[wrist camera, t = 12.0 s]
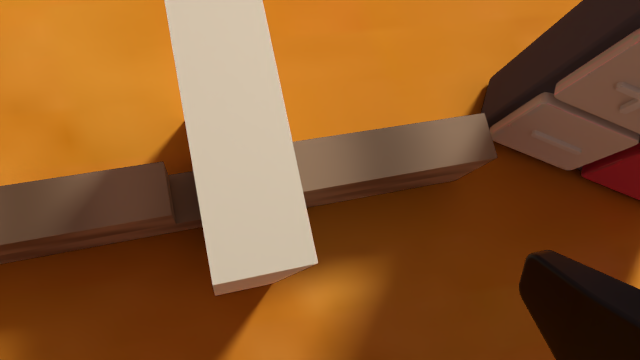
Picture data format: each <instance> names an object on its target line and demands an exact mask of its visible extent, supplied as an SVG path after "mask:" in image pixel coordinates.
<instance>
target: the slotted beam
mask: <svg viewBox="0 0 640 360" xmlns="http://www.w3.org/2000/svg"><path fill="white" fill-rule="evenodd" d="M293 147H294V151H295V156H296V161H297V166H298V170H299V175H300V180H301V184H302V189H303V194H304V199H305V203H306V208H308V207H314V206H319V205H324V204H330V203H335V202H341V201H346V200H352V199H357V198H362V197H368V196H373V195H379V194H384V193H390V192H395V191H401V190H406V189H411V188H417V187H422V186H428V185H433V184H439V183H444V182H449V181H455V180H457V179H459V178H461V177H462V176H464V175H466V174H468V173H470V172H472V171H474V170H475V169H477V168H479V167H481V166H483V165H485V164H487V163H489V162H490V161H492V160H494V159H496V158H498V157H497V154H496V150H495V147H494V143H493V140H492V137H491V133H490V130H489V127H488V123H487V120H486V117H485V113H481V114H474V115H468V116H461V117H454V118H448V119H441V120H435V121H428V122H421V123H415V124H408V125H402V126H395V127H388V128H382V129H375V130H369V131H362V132H355V133H349V134H342V135H336V136H329V137H322V138H316V139H309V140H302V141H296V142H293ZM199 227H203V225H202V220H201V214H200V208H199V202H198V196H197V190H196V184H195V178H194V172H193V171H192V172H186V173H179V174H173V175H168V173H167V170H166V168H165V165H164V162H157V163H151V164H144V165H137V166H131V167H124V168H117V169H111V170H104V171H98V172H91V173H84V174H78V175H71V176H65V177H58V178H51V179H45V180H38V181H32V182H25V183H18V184H12V185H5V186H0V264H3V263H9V262H14V261H20V260H25V259H31V258H36V257H42V256H47V255H52V254H58V253H63V252H69V251H74V250H80V249H85V248H91V247H96V246H101V245H107V244H112V243H118V242H123V241H129V240H134V239H139V238H145V237H150V236H156V235H161V234H167V233H172V232H178V231H183V230H188V229H194V228H199Z"/></svg>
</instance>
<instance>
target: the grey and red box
mask: <svg viewBox="0 0 640 360" xmlns="http://www.w3.org/2000/svg"><path fill="white" fill-rule="evenodd" d="M481 113H485V117H486V120H487V123H488V127H489V130H490V133H491V137H492V140H493V141H495V142H497V143H500V144H502V145H505V146H507V147H510V148H512V149H514V150H517V151H519V152H522V153H524V154H527V155H529V156H532V157H534V158H537V159H539V160H542V161H544V162H547V163H549V164H551V165H554V166H556V167H559V168H561V169H564V170H573V169H578V170H581V171H582V172H581V176H582V177H584V178H586V179H588V180H591V181H593V182H596V183H598V184H601V185H603V186H606V187H608V188H610V189H613V190H615V191H618V192H620V193H623V194H625V195H628V196H630V197H633V198H635V199H638V200H640V0H583V1H581V2H580V3H579V4H578V5H577V6H576V7H574V8H573V9H572V10H571V11H570V12H568V13H567V14H566V15H565V16H564V17H562V18H561V19H560V20H559V21H558V22H557V23H555V24H554V25H553V26H552V27H551V28H549V29H548V30H547V31H546V32H545V33H544V34H542V35H541V36H540V37H539V38H538V39H536V40H535V41H534V42H533V43H532V44H530V45H529V46H528V47H527V48H526V49H525V50H523V51H522V52H521V53H520V54H519V55H517V56H516V57H515V58H514V59H513V60H511V61H510V62H509V63H508V64H507V65H506V66H504V67H503V68H502V69H501V70H500V71H498V72H497V73H496V74H495V75H494V76H493V77H492V78H491V79H490V81H489V84H488V88H487V92H486V96H485V100H484V103H483V107H482V111H481Z"/></svg>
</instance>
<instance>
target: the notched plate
mask: <svg viewBox="0 0 640 360" xmlns="http://www.w3.org/2000/svg"><path fill="white" fill-rule="evenodd" d="M165 6H166V12H167V18H168V24H169V30H170V36H171V42H172V48H173V54H174V60H175V66H176V72H177V77H178V83H179V89H180V95H181V101H182V107H183V113H184V119H185V125H186V131H187V137H188V143H189V149H190V154H191V160H192V166H193V172H194V178H195V184H196V190H197V196H198V202H199V208H200V214H201V220H202V225H203V231H204V237H205V243H206V249H207V255H208V261H209V267H210V273H211V279H212V285H213V289H214V294H215V296H217V295H221V294H226V293H231V292H235V291H240V290H245V289H249V288H254V287H259V286H263V285H268V284H273V283H275V282H277V281H279V280H282V279H284V278H286V277H288V276H291V275H293V274H295V273H297V272H300V271H302V270H304V269H306V268H309V267H311V266H313V265H315V264H318V260H317V255H316V250H315V246H314V241H313V236H312V232H311V227H310V222H309V217H308V213H307V208H306V203H305V199H304V194H303V189H302V184H301V180H300V175H299V170H298V166H297V161H296V156H295V151H294V147H293V142H292V137H291V133H290V128H289V123H288V118H287V114H286V109H285V104H284V100H283V95H282V90H281V85H280V81H279V76H278V71H277V67H276V62H275V57H274V52H273V48H272V43H271V38H270V34H269V29H268V24H267V19H266V15H265V10H264V5H263V1H262V0H165Z"/></svg>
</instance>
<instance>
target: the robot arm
mask: <svg viewBox="0 0 640 360" xmlns="http://www.w3.org/2000/svg"><path fill="white" fill-rule="evenodd" d="M519 291H520V295H521V298H522V300H523V301H524V303H525V305H526V307H527V309H528V310H529V312H530V314H531V316H532V318H533V319H534V321H535V323H536V325H537V327H538V328H539V330H540V332H541V334H542V335H543V337H544V339H545V341H546V343H547V344H548V346H549V348H550V350H551V352H552V353H553V355H554V357H555V359H556V360H640V289H638V288H635V287H633V286H631V285H629V284H626V283H624V282H622V281H620V280H617V279H615V278H613V277H611V276H608V275H606V274H604V273H601V272H599V271H597V270H595V269H592V268H590V267H588V266H586V265H583V264H581V263H579V262H577V261H574V260H572V259H570V258H567V257H565V256H563V255H561V254H558V253H556V252H554V251H551V250H544V251H539V252H535V253H531V254H529V255H528V256H527V258H526V260H525V264H524V268H523V272H522V275H521V279H520V283H519Z"/></svg>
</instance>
